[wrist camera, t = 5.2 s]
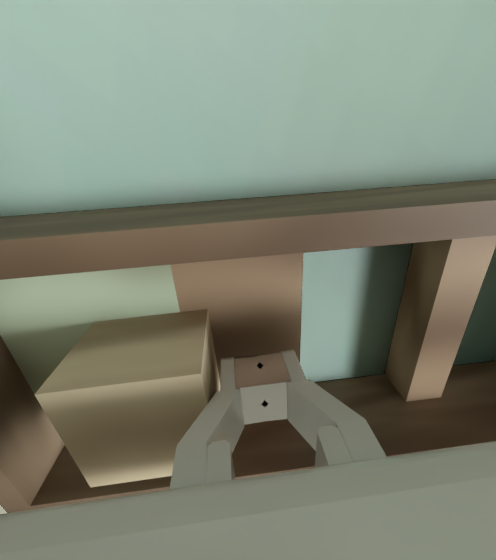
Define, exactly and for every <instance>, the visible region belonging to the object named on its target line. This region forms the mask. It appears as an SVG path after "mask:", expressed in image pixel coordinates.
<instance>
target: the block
mask: <svg viewBox="0 0 496 560" xmlns="http://www.w3.org/2000/svg"><path fill="white" fill-rule="evenodd" d="M218 391H220V379H219V373H218V367H217V361H216V355H215V349H214V343H213V337H212V331H211V325H210V319H209V313H208V309H204V310H195V311H187V312H178V313H169V314H160V315H151V316H142V317H134V318H125V319H116V320H107V321H98V322H94V323H93V324H92V325H91V326H90V328H89V329H88V330H87V331H86V332H85V334H84V335H83V336H82V337H81V339H80V340H79V341H78V342H77V343H76V345H75V346H74V347H73V348H72V349H71V351H70V352H69V353H68V354H67V355H66V357H65V358H64V359H63V360H62V362H61V363H60V364H59V365H58V366H57V368H56V369H55V370H54V371H53V372H52V374H51V375H50V376H49V377H48V379H47V380H46V381H45V382H44V383H43V385H42V386H41V387H40V388H39V389H38V391H37V392H36V393H35V394H34V395H35V397H36V398H37V400H38V402H39V403H40V405H41V407H42V408H43V410H44V412H45V413H46V415H47V417H48V418H49V420H50V421H51V423H52V425H53V426H54V428H55V430H56V431H57V433H58V435H59V436H60V438H61V440H62V441H63V443H64V445H65V446H66V448H67V450H68V451H69V453H70V455H71V456H72V458H73V459H74V461H75V463H76V464H77V466H78V468H79V469H80V471H81V473H82V474H83V476H84V478H85V479H86V481H87V483H88V484H89V486H90V488H91V487H98V486H105V485H112V484H118V483H125V482H132V481H139V480H146V479H153V478H160V477H167V476H172V471H173V465H174V459H175V453H176V448H177V444H178V443H179V442H180V440H181V439H182V438H183V436H184V435H185V434H186V432H187V431H188V430H189V428H190V427H191V425H192V424H193V423H194V421H195V420H196V419H197V417H198V416H199V415H200V413H201V412H202V411H203V409H204V408H205V407H206V406H207V404H208V403H209V401H210V400H211V398H212V397H213V396H214V394H215V393H216V392H218Z"/></svg>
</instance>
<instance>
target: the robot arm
mask: <svg viewBox="0 0 496 560" xmlns="http://www.w3.org/2000/svg"><path fill="white" fill-rule="evenodd" d="M282 419H288V421H289V422H290V423H291V424H292V425H293V426H294V427H295V429H296V430H297V431H298V432H299V433H300V434H301V435H302V436H303V438H304V439H305V440H306V441H307V442H308V443H309V444H310V445H311V446H312V448H313V449H314V450H315V451H316V457H315V468H311V469H304V470H297V471H290V472H284V473H277V474H270V475H263V476H256V477H250V478H243V479H236V477H235V471H234V464H233V458H232V453H233V451H234V448H235V446H236V444H237V442H238V440H239V437H240V435H241V433H242V431H243V429H244V425H246V424H252V423H258V422H264V421H272V420H282ZM0 560H496V441H492V442H485V443H479V444H472V445H465V446H458V447H452V448H445V449H438V450H431V451H425V452H418V453H411V454H404V455H398V456H391V457H387V456H386V455H385V453H384V451H383V449H382V447H381V446H380V444H379V442H378V440H377V439H376V437H375V435H374V433H373V432H372V430H371V428H370V426H369V425H368V423H367V421H366V419H364V418H363V417H362V416H360V415H359V414H357V413H356V412H355V411H353V410H352V409H350V408H349V407H348V406H346V405H345V404H343V403H342V402H341V401H339V400H338V399H336V398H335V397H334V396H332V395H331V394H329V393H328V392H327V391H325V390H324V389H322V388H321V387H320V386H318V385H317V384H315V383H314V382H313V381H311V380H306V378H305V376H304V373H303V371H302V368H301V366H300V363H299V361H298V358H297V356H296V353H295V351H294V350H287V351H281V352H274V353H266V354H259V355H249V356H239V357H231V358H221V376H220V391H218V392H216V393H215V394H214V396H213V397H212V398H211V400H210V401H209V403H208V404H207V406H206V407H205V408H204V409H203V411H202V412H201V413H200V415H199V416H198V417H197V419H196V420H195V421H194V423H193V424H192V425H191V427H190V428H189V430H188V431H187V432H186V434H185V435H184V436H183V438H182V439H181V440H180V442H179V443H178V444H177V448H176V453H175V459H174V465H173V471H172V477H171V483H170V489H168V490H162V491H155V492H148V493H141V494H135V495H128V496H121V497H114V498H108V499H101V500H94V501H87V502H81V503H74V504H67V505H60V506H54V507H47V508H40V509H33V510H27V511H20V512H13V513H6V514H0Z"/></svg>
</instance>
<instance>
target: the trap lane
mask: <svg viewBox="0 0 496 560" xmlns="http://www.w3.org/2000/svg"><path fill="white" fill-rule="evenodd" d="M406 243H413V248H412V253H411V257H410V262H409V266H408V271H407V275H406V280H405V284H404V289H403V293H402V298H401V302H400V307H399V311H398V316H397V320H396V325H395V329H394V334H393V339H392V343H391V348H390V352H389V357H388V361H387V366H386V370H385V374H382V375H374V376H366V377H357V378H349V379H341V380H332V381H324V382H316V383H315V384H317V385H318V386H320V387H321V388H322V389H324V390H325V391H327V392H328V393H329V394H331V395H332V396H334V397H335V398H336V399H338V400H339V401H341V402H342V403H343V404H345V405H346V406H348V407H349V408H350V409H352V410H353V411H355V412H356V413H357V414H359V415H360V416H362V417H363V418H364V419H366V421H367V423H368V425H369V426H370V428H371V430H372V432H373V433H374V435H375V437H376V439H377V440H378V442H379V444H380V446H381V447H382V449H383V451H384V453H385V455H386V456H387V457H391V456H398V455H404V454H411V453H418V452H425V451H431V450H438V449H445V448H452V447H458V446H465V445H472V444H479V443H485V442H492V441H496V361H490V362H482V363H474V364H465V365H457V366H452V365H453V362H454V360H455V357H456V354H457V352H458V349H459V346H460V343H461V341H462V338H463V335H464V332H465V330H466V327H467V324H468V321H469V319H470V316H471V313H472V310H473V308H474V305H475V302H476V299H477V297H478V294H479V291H480V288H481V286H482V283H483V280H484V277H485V275H486V272H487V269H488V266H489V264H490V261H491V258H492V255H493V253H494V250H495V247H496V179H495V180H481V181H468V182H455V183H442V184H429V185H416V186H402V187H389V188H376V189H363V190H350V191H337V192H323V193H310V194H297V195H284V196H271V197H258V198H244V199H231V200H218V201H205V202H192V203H179V204H165V205H152V206H139V207H126V208H113V209H100V210H86V211H73V212H60V213H47V214H34V215H21V216H8V217H0V505H1V506H2V507H3V508H4V509H5V511H6V512H7V513H13V512H20V511H27V510H33V509H40V508H47V507H54V506H60V505H67V504H74V503H81V502H87V501H94V500H101V499H108V498H114V497H121V496H128V495H135V494H141V493H148V492H155V491H162V490H168V489H170V483H171V477H172V476H167V477H160V478H153V479H146V480H139V481H132V482H125V483H118V484H112V485H105V486H98V487H91V488H90V486H89V484H88V483H87V481H86V479H85V478H84V476H83V474H82V473H81V471H80V469H79V468H78V466H77V464H76V463H75V461H74V459H73V458H72V456H71V455H70V453H69V451H68V450H67V448H66V446H65V445H64V443H63V441H62V440H61V438H60V436H59V435H58V433H57V431H56V430H55V428H54V426H53V425H52V423H51V421H50V420H49V418H48V417H47V415H46V413H45V412H44V410H43V408H42V407H41V405H40V403H39V402H38V400H37V398H36V397H35V395H34V394H35V393H36V392H37V391H38V389H39V388H40V387H41V386H42V385H43V383H44V382H45V381H46V380H47V379H48V377H49V376H50V375H51V374H52V372H53V371H54V370H55V369H56V368H57V366H58V365H59V364H60V363H61V362H62V360H63V359H64V358H65V357H66V355H67V354H68V353H69V352H70V351H71V349H72V348H73V347H74V346H75V345H76V343H77V342H78V341H79V340H80V339H81V337H82V336H83V335H84V334H85V332H86V331H87V330H88V329H89V328H90V326H91V325H92V324H93V323H94V322H98V321H107V320H116V319H125V318H134V317H142V316H151V315H160V314H169V313H178V312H187V311H195V310H204V309H208V313H209V319H210V325H211V331H212V337H213V343H214V349H215V355H216V361H217V367H218V373H219V379H220V376H221V358H231V357H239V356H249V355H259V354H266V353H274V352H281V351H287V350H294V351H295V353H296V356H297V358H298V361H299V363H300V338H301V306H302V275H303V253H305V252H317V251H328V250H339V249H350V248H361V247H372V246H383V245H395V244H406ZM315 457H316V451H315V450H314V449H313V448H312V446H311V445H310V444H309V443H308V442H307V441H306V440H305V439H304V438H303V436H302V435H301V434H300V433H299V432H298V431H297V430H296V429H295V427H294V426H293V425H292V424H291V423H290V422H289V421H288V419H282V420H272V421H264V422H258V423H252V424H246V425H244V429H243V431H242V433H241V435H240V437H239V440H238V442H237V444H236V446H235V448H234V451H233V453H232V458H233V464H234V471H235V477H236V479H243V478H250V477H256V476H263V475H270V474H277V473H284V472H290V471H297V470H304V469H311V468H315Z"/></svg>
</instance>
